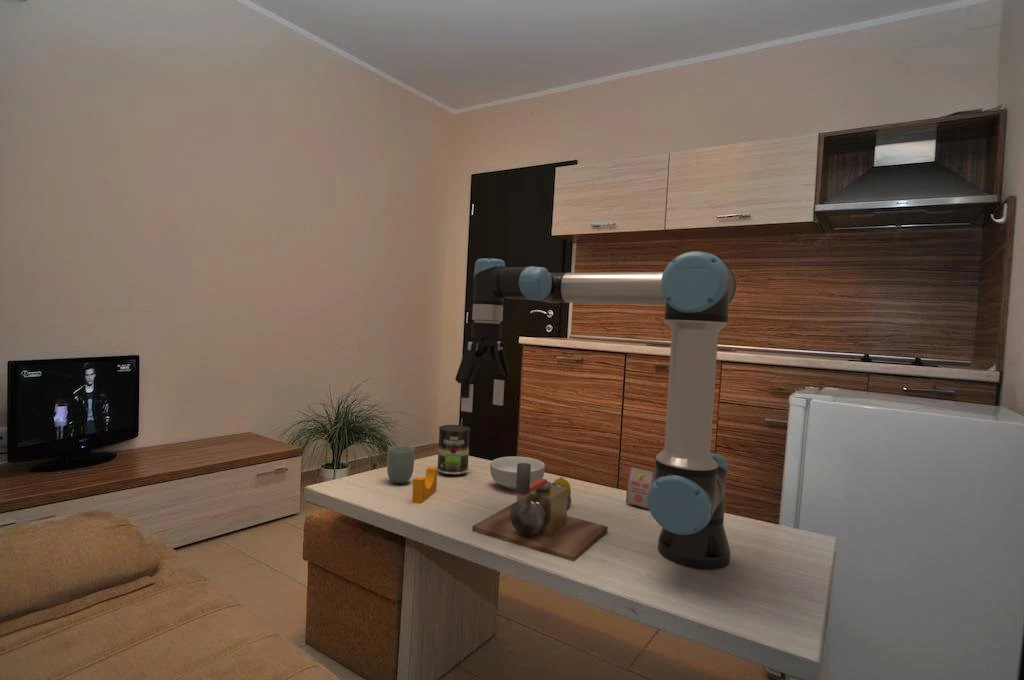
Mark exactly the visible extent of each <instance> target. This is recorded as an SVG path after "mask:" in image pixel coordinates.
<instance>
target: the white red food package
mask: <svg viewBox="0 0 1024 680" xmlns="http://www.w3.org/2000/svg"><path fill="white" fill-rule="evenodd" d="M654 478H655V472H654V471H651V470H650V471H649V470H646V469H641V468H637V467H632V466H630V467H629V473H628V477H627V482H626V497H625V503H626V504H629V505H632V506H636V507H640V508H643V509H648V510H649V508H648V502H647V497H648V492H649V488H650V487H651V484H652V483H653V482H654Z"/></svg>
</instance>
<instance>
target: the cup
mask: <svg viewBox="0 0 1024 680" xmlns="http://www.w3.org/2000/svg"><path fill="white" fill-rule="evenodd" d="M386 455H387V456H386V458H387V459H386V469H387V470H386V472H387V473H386V474H387V477H388V479H389V481H391V482H392V483H394V484H395V483H396V484H403V483H406V482H408V481H410V480H411V478H412V476H413V473H414V467H415V466H414V465H415V448H414V447H413V446H410V445H402V444H401V445H400V444H399V445H393V446H390V447H388V448H387V453H386Z"/></svg>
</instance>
